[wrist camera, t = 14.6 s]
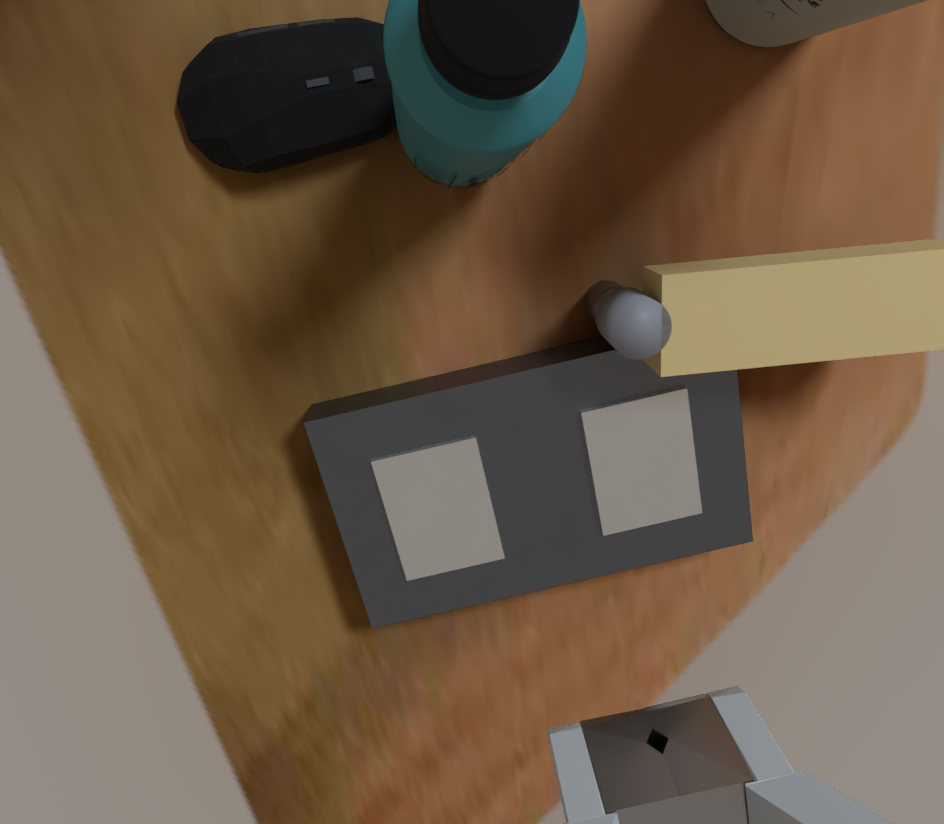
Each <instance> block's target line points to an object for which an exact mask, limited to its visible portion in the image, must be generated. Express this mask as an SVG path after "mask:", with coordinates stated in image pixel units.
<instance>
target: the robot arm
mask: <svg viewBox="0 0 944 824" xmlns="http://www.w3.org/2000/svg"><path fill="white" fill-rule="evenodd" d="M580 723H581V725H580ZM580 723H579V722H577V723H572V724H566V725H561V726H556V727H551V728H548V739H549V743H550V748H551V753H552V757H553V762H554V767H555V772H556V776H557V781H558V786H559V790H560V795H561V800H562V804H563V809H564V814H565V819H566V823H565V824H894V823H892V822H890V821H889V820H887V819H885V818H884V817H882V816H880V815H879V814H877V813H875V812H873V811H872V810H870V809H869V808H867V807H865V806H863V805H862V804H860V803H858V802H857V801H855V800H853V799H852V798H850V797H848V796H847V795H845V794H843V793H842V792H840V791H838V790H836V789H835V788H833V787H831V786H830V785H828V784H826V783H825V782H823V781H821V780H819V779H818V778H816V777H815V776H813V775H811V774H809V773H807V772H806V771H802V772H796V773H794V771H793V769H792V768H791V766H790V764H789V763H788V761H787V759H786V758H785V756H784V754H783V753H782V752H781V750H780V748H779V746H778V745H777V743H776V741H775V740H774V738H773V736H772V735H771V733H770V732H769V730H768V728H767V727H766V725H765V723H764V722H763V720H762V718H761V717H760V715H759V713H758V712H757V710H756V708H755V707H754V705H753V704H752V702H751V700H750V699H749V697H748V695H747V694H746V692H745V690H743V689H742V688H741V687H739V686H735V687H731V688H727V689H723V690H718V691H714V692H710V693H707V694H701V695H697V696H693V697H688V698H684V699H680V700H676V701H671V702H667V703H663V704H658V705H654V706H650V707H646V708H642V709H639V710H634V711H629V712H624V713H619V714H614V715H609V716H603V717H598V718H593V719H588V720H583V721H580Z"/></svg>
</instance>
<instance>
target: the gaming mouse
mask: <svg viewBox="0 0 944 824" xmlns="http://www.w3.org/2000/svg"><path fill="white" fill-rule="evenodd" d="M383 30H384V24H381V23H377V22H373V21H369V20H365V19H362V18H340V19H322V20H314V21H306V22H298V23H290V24H282V25H275V26H267V27H260V28H253V29H247V30H243V31H239V32H235V33H231V34H227V35H223V36H219V37H215V38H214V39H213V40H212V41H211V42H210V43H208V44H207V45H206V46H205V47H204V48H203V49H202V51H201V52H200V53H199V54H198V55H197V56H196V57H195V58H194V59H193V60H192V61H191V62H190V63H189V64H188V66H187V67H186V69H185V70H184V71H183V73H182V78H181V83H180V89H179V94H178V100H177V104H178V107H179V110H180V113H181V116H182V119H183V122H184V125H185V129H186V132H187V135H188V138H189V140H190V141H191V142H192V143H193V144H194V145H195V146H196V147H197V148H198V149H199V150H200V151H201V152H202V153H203V154H204V155H205V156H206V157H207V158H208V159H209V160H211V161H212V162H214V163H215V164H217V165H219V166H221V167H224V168H229V169H233V170H239V171H247V172H252V173H262V172H268V171H272V170H276V169H280V168H284V167H288V166H292V165H295V164H298V163H302V162H305V161H308V160H311V159H314V158H317V157H320V156H324V155H327V154H331V153H335V152H338V151H342V150H346V149H349V148H353V147H356V146H359V145H362V144H365V143H368V142H371V141H374V140H377V139H380V138H383V137H385V136H387V135H388V134H389V133H390V132H391V131H392V130H393V129H394V128H395V127H397V124H396V117H395V110H394V103H393V101H391V100H393V99H392V98H393V96H392V89H391V88H392V84H391V80H390V77H389V75H388V71H387V66H386V62H385V55H384V46H383ZM388 78H389V79H388ZM389 83H390V84H391V85H389ZM389 88H390V89H389ZM390 91H391V93H390ZM389 95H390V96H389ZM390 97H392V98H390ZM390 99H391V100H390ZM389 102H390V103H389ZM391 103H392V104H391ZM392 107H393V108H392ZM392 109H393V111H392ZM392 112H393V114H392ZM391 114H392V115H393V116H392V115H391ZM392 119H393V120H392ZM393 125H394V126H393Z"/></svg>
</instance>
